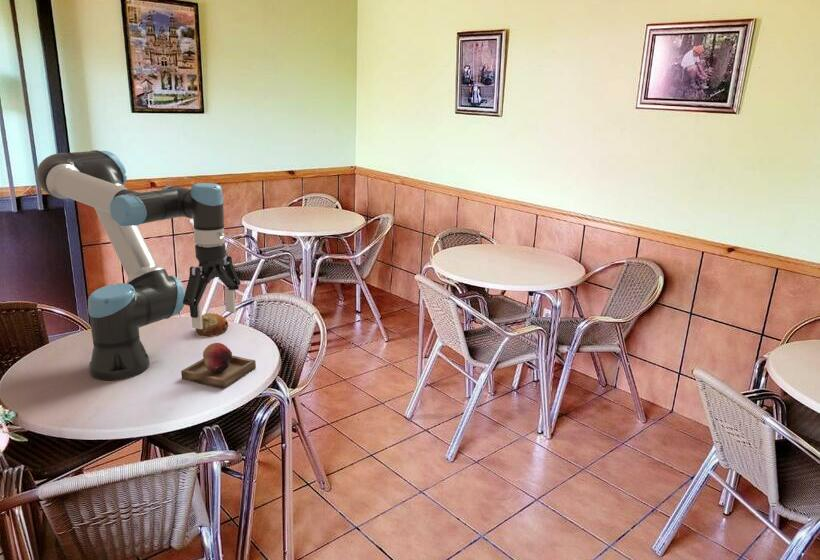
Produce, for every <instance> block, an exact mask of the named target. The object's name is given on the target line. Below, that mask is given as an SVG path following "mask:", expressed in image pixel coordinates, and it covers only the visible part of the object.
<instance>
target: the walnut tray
mask: <svg viewBox="0 0 820 560" xmlns="http://www.w3.org/2000/svg"><path fill="white" fill-rule="evenodd" d="M256 367H257V366H256V360H255V359H250V358H245V357H240V356H236V355H232V358H231V361H230V364H229V367H228V368H227V369H226V370H224V371H222V372H213V371H210V370H209V369H207V368H206V367H205V365H204V359H203V358H202V359H199V360H198V361H197V362H195V363H193V364H191V365H189V366H187V367H186V368H184V369H182V370H181V372H180V374H181V380H184V381H188V382H190V383H196V384H200V385H204V386H208V387H213V388H217V389H220V390H225V389H227V388H229V387H231V386H232V385H233V384H235V383H236V382H237V381H239V380H241V379H242V378H244V377H246V376H247V375H248V374H250V373H252V370H253V371H254V370H256V369H257V368H256ZM255 368H256V369H255ZM249 372H250V373H249ZM246 374H247V375H246Z"/></svg>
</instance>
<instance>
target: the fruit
mask: <svg viewBox="0 0 820 560" xmlns="http://www.w3.org/2000/svg"><path fill="white" fill-rule="evenodd" d="M232 356H233V352H232V351H231V349H230V348H229V347H228V346H227V345H225V344H223V343H221V342H213V343H211V344H209V345H207V346H206V347H205V348H204V350H203V352H202V357H203V358H202V359H204V365H205V367H206V368H207V369H209V370H210V371H213V372H222V371H224V370H226V369H227V368H228V367H229V364H230V361H231V358H232Z"/></svg>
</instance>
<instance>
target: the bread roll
mask: <svg viewBox="0 0 820 560" xmlns="http://www.w3.org/2000/svg"><path fill="white" fill-rule="evenodd" d="M228 322H229V321H228V320H227V318H226V317H224V316H223V315H220V314H218V313H211V312H206V313H204V314H202V324H203V329H197V328H195V333H197V335H198V336H200V337H214V336H219V335H222V334H225V333H226V332H227V331H228V328H229V323H228Z"/></svg>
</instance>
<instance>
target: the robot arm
mask: <svg viewBox="0 0 820 560" xmlns="http://www.w3.org/2000/svg"><path fill="white" fill-rule="evenodd" d="M126 173H127V169H126V168H125V165H124V163H123V161H122V160H121V159H120V157H118V156H117V155H116V154H115V153H113V152H111V151H108V150H97V149H95V150H90V151H88V150H87V151H77V152H58V153H54V154H51V155H48V156H47V157H45V158H44V159H43V160H41V162H40V163H39V164H38V167H37V169H36V174H35V176H36V180H37V181H36V182H37V183H38V186H39V187H40V188H41V189H42V191H43V192H45V193H47V194H48V195H50V196H52V197H55V198H57V199H62V200H66V199H70V200H73V201H76V202H79V203H81V204H84V205H87V206H89V207H92V208H93V209H94V210H95V213H96V215H97V217H98V219H99V221H100V223H101V226H102V228H103V229H104V231H105V234H106V236H107V237H108V240H109V242H110V244H111V245H112V247H113V249H114V252H115V253H116V255H117V257H118V260H119V261H120V264H121V266H122V268H123V270H124V271H125V274H126V276H127V280H126V283H125V282H122V283H121V282H120V283H115V284H113V283H112V284H108V285H105V286H102V287H100V288H97V289H95V290H94V291H93V292H92V293H91V294H90V295H89V297H88V299H87V308H88V309H87V313H88V316H89V323H90V331H91V337H92V345H93V348H92V355H91V359H90V361H89V365H88V367H89V374H90V376H91V377H93V378H94V379H96V380H101V381H116V380H124V379H129V378H132V377H134V376H138V375H139V374H142V373H143V372H145V371H146V370H148V369H149V367H150V356H149V354H148V353H147V351H146V349H145V347H144V345H143V343H142V341H141V339H140V338H141V337H140V328H142V327H144V326H145V327H146V326H149V325H151V324H155V323H157V322H159V321H162V320H167V319H170V318H171V317H173V316H174V317H175V316H176V315H178V314H179V313H181V311H182V310H183V309H184V307H185V306H189V316H190V317H191V323H192V324H191V325H192V326H191V327H192V328H193V329H196V328H197V329H203V324H202V315H203V313H202V310H203V309H202V304H200V302H201V299H202V298H203V295H204V293H205V291H206V288H207V286H208V284H209V283H211V280H214V279H215V278H219V280H220V281H221V282H222V283H223V284H224V286H225V287H226V288H225V289H224V295H225V297H224V298H225V311H226V312H228V313H233V314H234V313H236V312H237V311H236V298H237V296H236V291H237V290H239V288H240V285H241V281H240V278H239V275H238V274H237V271H236V269H235V267H234V264H233V259H232V256H230V255H227V252H226V251H227V250H226V243H225V241H226V236H225V235H226V234H225V216H224V196H223V188H222V186H221V185H220V184H218V183H214V182H211V183H210V182H199V183H194V184H192V185H191V188H188V187H187V188H186V187H182V186H179V185H167V186H164V187H163V188H162V189H160V190H159V189H158V190H151V191H144V192H143V191H142V192H139V191H136V190H132V189H129V188H126V187H125V185H126V183H127V179H128V178H127V175H126ZM181 217H182V218H188V219H192V220H193V236H194V237H193V239H194V243H195V245H194V249H195V250H194V251H195V258H196V260H197V261H198V265H197V266H190V267H189V277H188V281H187V285H186V288H185V287H184V284H183V282H182V281H181V280H180V278H178V277H177V276H174V275H169V274H168V271H167V269H166V268H164V267H162V266H159V265H158V264H157V262H156V260H155V258H154V256H153V254H152V252H151V249H150V248H149V246H148V243H147V242H146V240H145V238H144V236H143V234H142V232H141V229H140V228H139V225H143V224H148V223H152V222H159V221H164V220H169V219H176V218H181Z"/></svg>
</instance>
